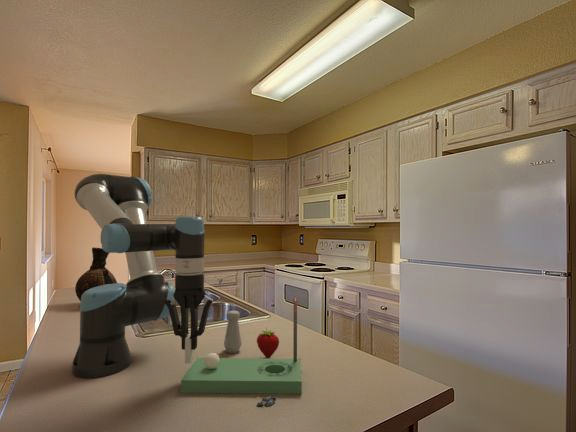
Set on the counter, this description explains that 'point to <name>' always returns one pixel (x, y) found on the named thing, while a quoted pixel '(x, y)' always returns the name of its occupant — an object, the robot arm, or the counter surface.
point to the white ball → (211, 360)
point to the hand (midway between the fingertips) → (189, 361)
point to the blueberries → (266, 402)
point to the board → (247, 374)
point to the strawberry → (267, 343)
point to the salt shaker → (232, 333)
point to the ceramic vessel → (95, 273)
